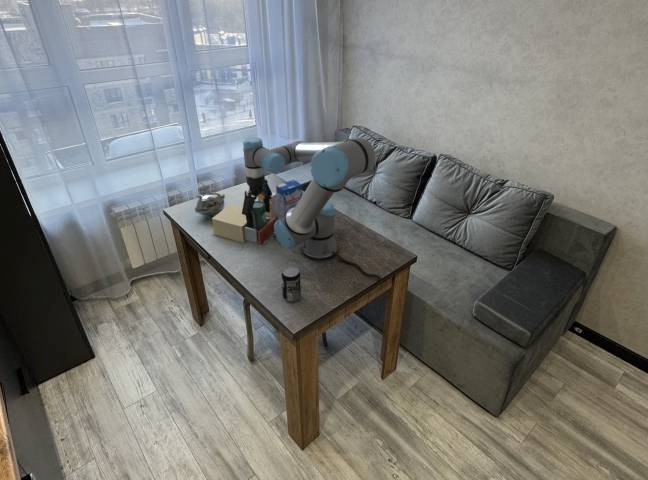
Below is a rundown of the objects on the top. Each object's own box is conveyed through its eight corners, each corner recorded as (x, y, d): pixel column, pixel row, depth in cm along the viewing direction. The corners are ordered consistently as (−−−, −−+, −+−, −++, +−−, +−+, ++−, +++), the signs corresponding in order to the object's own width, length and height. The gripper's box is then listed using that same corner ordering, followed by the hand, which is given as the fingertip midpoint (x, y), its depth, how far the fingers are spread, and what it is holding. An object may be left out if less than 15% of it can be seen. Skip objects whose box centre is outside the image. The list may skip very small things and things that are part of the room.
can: (268, 234, 177) (266, 205, 170) (256, 238, 174) (253, 209, 167) (263, 228, 182) (260, 199, 174) (250, 232, 179) (247, 203, 171)
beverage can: (287, 288, 151) (285, 263, 145) (303, 292, 149) (303, 267, 143) (279, 300, 145) (278, 274, 139) (296, 304, 144) (295, 279, 137)
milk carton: (285, 228, 186) (283, 190, 176) (277, 222, 190) (275, 185, 180) (302, 221, 192) (301, 184, 182) (295, 216, 196) (294, 179, 185)
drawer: (287, 233, 181) (286, 221, 177) (272, 249, 170) (271, 235, 167) (249, 223, 187) (248, 211, 183) (233, 237, 176) (231, 224, 173)
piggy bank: (192, 214, 193) (189, 194, 187) (222, 206, 201) (219, 186, 195) (201, 225, 185) (197, 203, 180) (231, 215, 193) (228, 195, 187)
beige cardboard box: (260, 227, 186) (259, 211, 182) (243, 243, 175) (241, 226, 170) (232, 219, 191) (230, 204, 186) (214, 234, 179) (211, 218, 175)
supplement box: (258, 216, 194) (256, 193, 187) (263, 212, 198) (262, 188, 191) (273, 220, 191) (271, 196, 185) (278, 216, 195) (277, 192, 188)
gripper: (263, 162, 174) (266, 204, 185) (229, 185, 154) (234, 230, 165) (278, 165, 172) (280, 207, 183) (245, 189, 152) (250, 235, 163)
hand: (258, 218), depth 174 cm, fingers open, 13 cm apart
